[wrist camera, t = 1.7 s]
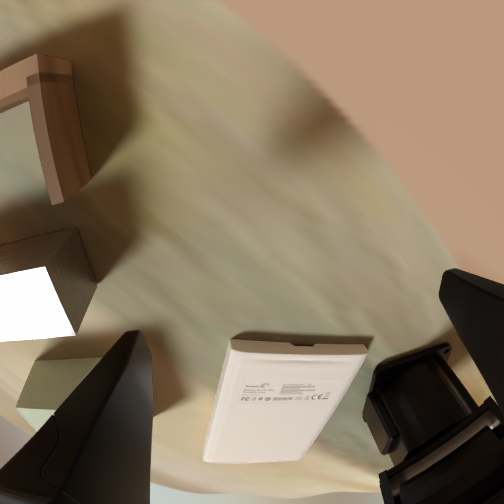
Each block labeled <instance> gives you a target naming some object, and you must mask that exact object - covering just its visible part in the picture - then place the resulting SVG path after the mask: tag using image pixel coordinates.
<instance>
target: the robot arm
mask: <svg viewBox="0 0 504 504" xmlns="http://www.w3.org/2000/svg"><path fill="white" fill-rule="evenodd" d="M439 299H440V301H441V303H442V305H443V307H444V309H445V311H446V312H447V314H448V316H449V318H450V320H451V322H452V324H453V326H454V328H455V330H456V332H457V334H458V336H459V337H460V339H461V341H462V343H463V344H464V346H465V347H466V349H467V351H468V352H469V354H470V356H471V357H472V359H473V361H474V362H475V364H476V366H477V368H478V369H479V371H480V373H481V375H482V376H483V378H484V380H485V382H486V383H487V385H488V387H489V389H490V391H491V393H492V394H493V396H494V398H495V400H496V402H497V404H498V405H497V404H496V402H495V401H494V400H493V399H492V398H491V396H489V397H488V398H487V399H486V400H485V401H484V403H483V404H482V405H481V406H478V405H477V403H476V402H475V401H474V399H473V398H472V396H471V395H470V394H469V392H468V391H467V389H466V388H465V387H464V385H463V384H462V383H461V381H460V380H459V378H458V377H457V376H456V374H455V373H454V372H453V370H452V369H451V368H450V366H449V365H448V364H447V360H448V357H449V355H450V352H451V350H452V347H451V345H450V344H449V343H444V344H442V345H439V346H436V347H434V348H431V349H428V350H426V351H423V352H420V353H417V354H415V355H412V356H409V357H406V358H403V359H400V360H397V361H394V362H391V363H388V364H385V365H381V366H379V367H377V368H376V369H375V370H374V372H373V377H372V381H371V385H370V390H369V393H368V395H367V398H366V402H365V406H364V410H363V420H364V422H367V424H368V427H369V429H370V431H371V433H372V435H373V438H374V440H375V442H376V444H377V446H378V449H379V451H380V453H381V454H383V455H387V454H389V456H390V458H391V460H392V462H393V464H394V467H393V468H391V469H389V470H385V471H383V472H381V473H380V474H379V479H380V481H379V482H380V488H381V492H382V496H383V500H384V504H504V284H501V283H498V282H495V281H492V280H489V279H486V278H483V277H480V276H477V275H474V274H471V273H468V272H465V271H462V270H459V269H456V268H453V269H449V270H446V271H445V272H444V273H443V276H442V280H441V285H440V289H439ZM152 424H153V385H152V358H151V353H150V350H149V348H148V345H147V343H146V341H145V338H144V336H143V333H142V332H141V331H140V330H134V331H127V332H125V333H124V334H123V335H122V336H121V338H120V339H119V340H118V341H117V342H116V343H115V344H114V345H113V346H112V347H111V349H110V350H109V351H108V352H107V353H106V354H105V355H104V356H103V357H102V358H101V360H100V361H99V362H98V363H97V364H96V365H95V366H94V367H93V368H92V370H91V371H90V372H89V373H88V374H87V375H86V376H85V377H84V379H83V380H82V381H81V382H80V383H79V384H78V385H77V387H76V388H75V389H74V390H73V391H72V392H71V393H70V395H69V396H68V397H67V398H66V399H65V400H64V401H63V403H62V404H61V405H60V406H59V407H58V408H57V409H56V411H55V412H54V415H51V416H50V418H49V419H48V420H47V421H46V422H45V423H44V425H43V426H42V427H41V428H40V429H39V430H38V431H37V432H36V434H35V435H34V436H33V437H32V438H31V439H30V440H29V441H28V442H27V443H26V444H25V445H24V446H23V447H22V448H21V449H20V450H19V451H18V452H17V453H16V454H15V455H14V456H13V457H12V458H11V459H10V460H9V461H8V462H7V463H6V464H5V465H4V466H3V467H2V468H1V469H0V504H150V465H151V441H152ZM491 425H492V426H493V427H494V428H493V429H492V430H491V428H490V426H491Z"/></svg>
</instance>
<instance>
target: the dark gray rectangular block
mask: <svg viewBox="0 0 504 504" xmlns="http://www.w3.org/2000/svg"><path fill="white" fill-rule="evenodd" d="M96 288H97V284H96V282H95V279H94V276H93V274H92V271H91V268H90V265H89V263H88V260H87V257H86V254H85V251H84V248H83V245H82V242H81V239H80V236H79V233H78V230H77V227H75V228H71V229H66V230H62V231H58V232H53V233H49V234H45V235H41V236H37V237H33V238H29V239H25V240H21V241H17V242H13V243H9V244H5V245H1V246H0V341H13V340H28V339H41V338H54V337H65V336H76V335H77V332H78V330H79V327H80V325H81V322H82V320H83V318H84V315H85V313H86V311H87V308H88V306H89V304H90V302H91V299H92V297H93V295H94V293H95V290H96Z"/></svg>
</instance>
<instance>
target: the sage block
mask: <svg viewBox="0 0 504 504" xmlns="http://www.w3.org/2000/svg"><path fill="white" fill-rule="evenodd" d="M101 358H102V357H91V358H77V359H60V360H37V361H35V362H34V364H33V366H32V369H31V371H30V373H29V376H28V378H27V380H26V383H25V385H24V387H23V390H22V392H21V395H20V397H19V400H18V402H17V405H16V409H17V410H18V411H19V412H20V413H21V415H22V416H23V417H24V418H25V419H26V420H27V422H28V423H29V424H30V425H31V426H32V427H33V428H34V429H35V430H36V431H38V430H39V429H40V428H41V427H42V426H43V425H44V423H45V422H46V421H47V420H48V419H49V418H50V416H51V415H54V412H55V411H56V409H57V408H58V407H59V406H60V405H61V404H62V403H63V401H64V400H65V399H66V398H67V397H68V396H69V395H70V393H71V392H72V391H73V390H74V389H75V388H76V387H77V385H78V384H79V383H80V382H81V381H82V380H83V379H84V377H85V376H86V375H87V374H88V373H89V372H90V371H91V370H92V368H93V367H94V366H95V365H96V364H97V363H98V362H99V361H100V360H101ZM152 425H153V424H152ZM151 444H152V441H151Z"/></svg>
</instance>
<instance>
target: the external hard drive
mask: <svg viewBox="0 0 504 504" xmlns="http://www.w3.org/2000/svg"><path fill="white" fill-rule="evenodd" d="M367 354H368V350H367V348H366V347H365V345H364V344H314V345H312V346H293V345H292V344H291V343H285V342H267V341H251V340H238V339H230V340H229V344H228V348H227V352H226V356H225V360H224V364H223V368H222V372H221V377H220V381H219V385H218V389H217V393H216V397H215V401H214V406H213V410H212V414H211V418H210V422H209V427H208V431H207V435H206V439H205V444H204V448H203V451H202V453H203V460H204V461H205V462H208V463H265V462H281V461H294V460H299V459H302V458H303V457H304V455H305V454H306V452H307V451H308V450H309V448H310V447H311V445H312V444H313V442H314V441H315V440H316V438H317V437H318V435H319V434H320V432H321V431H322V429H323V428H324V426H325V425H326V423H327V422H328V420H329V419H330V417H331V415H332V414H333V412H334V411H335V409H336V408H337V406H338V404H339V403H340V401H341V399H342V398H343V396H344V395H345V393H346V391H347V390H348V388H349V386H350V384H351V383H352V381H353V379H354V377H355V376H356V374H357V372H358V370H359V369H360V367H361V365H362V364H363V362H364V360H365V358H366V356H367Z"/></svg>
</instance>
